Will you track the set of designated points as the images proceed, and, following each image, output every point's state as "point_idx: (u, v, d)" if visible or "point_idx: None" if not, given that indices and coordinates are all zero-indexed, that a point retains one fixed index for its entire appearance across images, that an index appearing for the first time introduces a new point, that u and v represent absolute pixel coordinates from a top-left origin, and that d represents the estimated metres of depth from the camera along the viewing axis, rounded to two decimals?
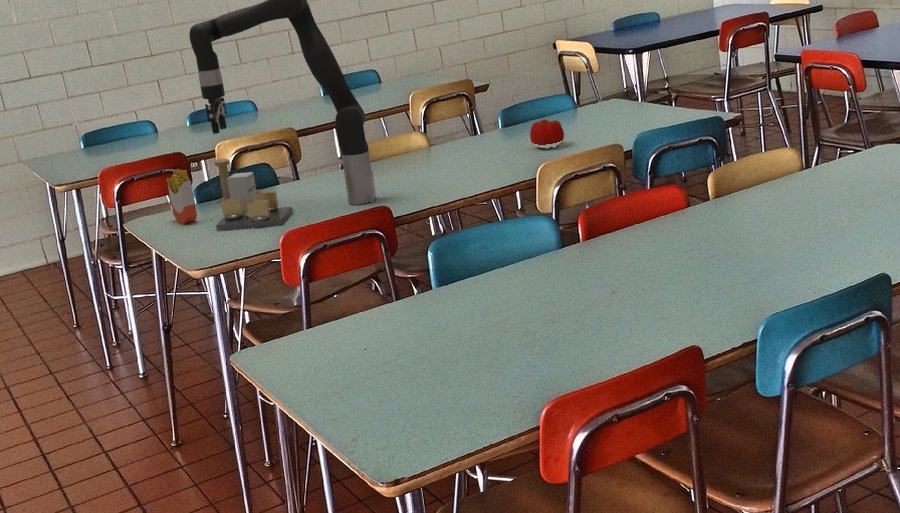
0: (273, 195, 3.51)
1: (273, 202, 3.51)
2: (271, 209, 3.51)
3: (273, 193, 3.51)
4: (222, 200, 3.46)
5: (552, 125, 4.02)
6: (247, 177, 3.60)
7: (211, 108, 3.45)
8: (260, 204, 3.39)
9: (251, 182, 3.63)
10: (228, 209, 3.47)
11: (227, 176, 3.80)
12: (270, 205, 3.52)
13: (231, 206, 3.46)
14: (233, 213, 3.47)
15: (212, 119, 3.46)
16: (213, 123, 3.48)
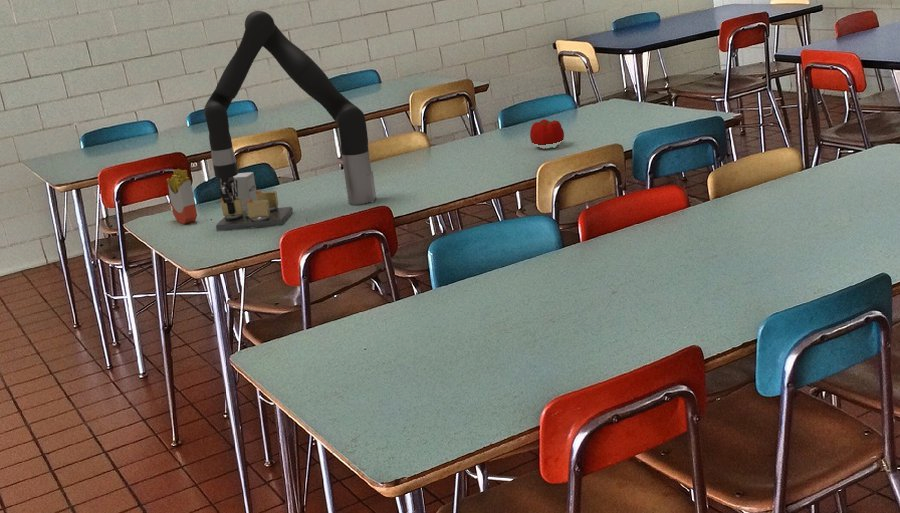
0: (273, 195, 3.51)
1: (273, 202, 3.51)
2: (271, 209, 3.51)
3: (273, 193, 3.51)
4: (222, 200, 3.46)
5: (552, 125, 4.02)
6: (247, 177, 3.60)
7: (226, 193, 3.40)
8: (260, 204, 3.39)
9: (251, 182, 3.63)
10: None
11: None
12: (270, 205, 3.52)
13: None
14: None
15: (228, 200, 3.43)
16: (229, 204, 3.45)
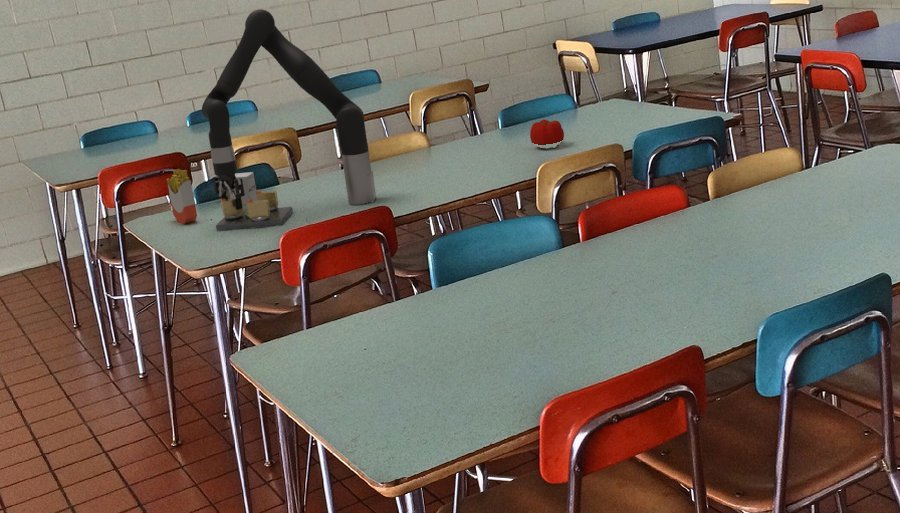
0: (273, 195, 3.51)
1: (273, 202, 3.51)
2: (271, 209, 3.51)
3: (273, 193, 3.51)
4: (224, 201, 3.45)
5: (552, 125, 4.02)
6: (247, 177, 3.60)
7: (241, 183, 3.41)
8: (260, 204, 3.39)
9: (251, 182, 3.63)
10: (230, 209, 3.46)
11: None
12: (270, 205, 3.52)
13: (233, 206, 3.47)
14: (235, 213, 3.47)
15: (242, 194, 3.42)
16: (239, 199, 3.43)
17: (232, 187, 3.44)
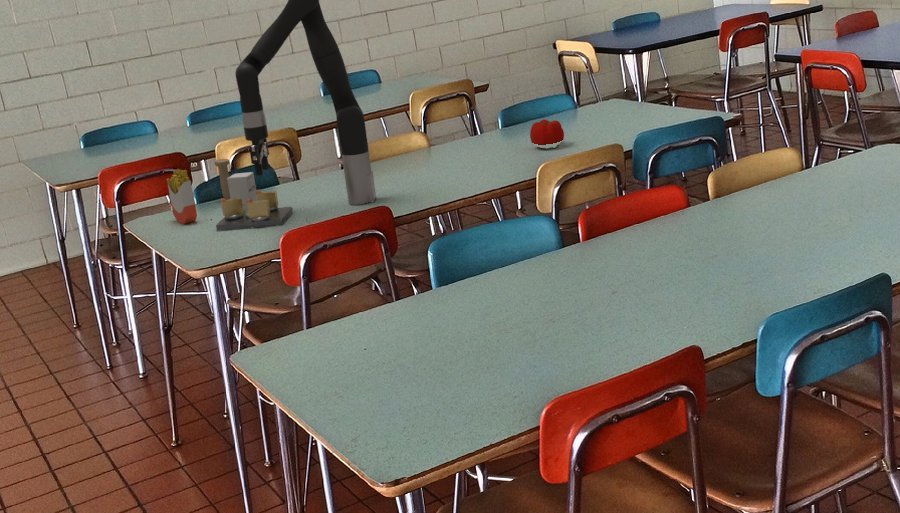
0: (273, 195, 3.51)
1: (273, 202, 3.51)
2: (271, 209, 3.51)
3: (273, 193, 3.51)
4: (224, 201, 3.45)
5: (552, 125, 4.02)
6: (247, 177, 3.60)
7: (255, 150, 3.41)
8: (260, 204, 3.39)
9: (251, 182, 3.63)
10: (230, 209, 3.46)
11: (227, 176, 3.80)
12: (270, 205, 3.52)
13: (233, 205, 3.47)
14: (235, 213, 3.48)
15: (256, 161, 3.42)
16: (257, 165, 3.44)
17: None
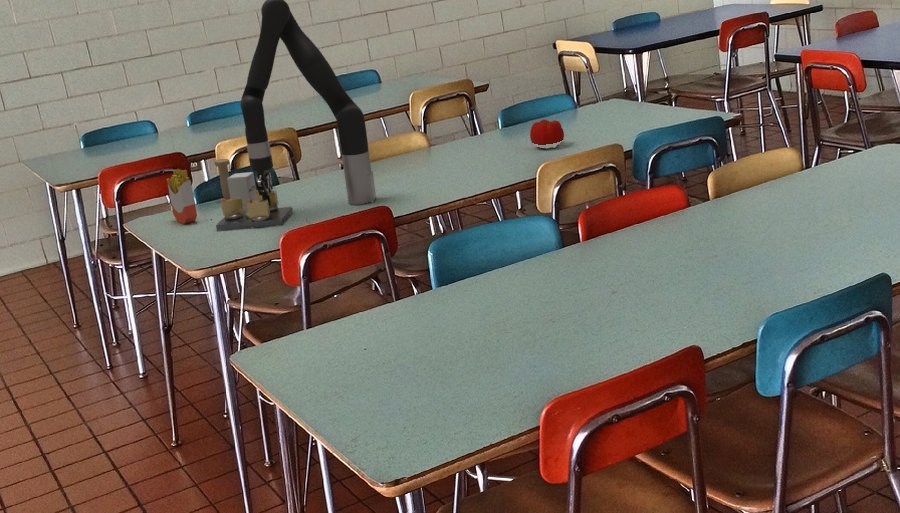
0: (273, 195, 3.51)
1: (273, 202, 3.51)
2: (271, 209, 3.51)
3: (273, 193, 3.51)
4: (224, 201, 3.45)
5: (552, 125, 4.02)
6: (247, 177, 3.60)
7: (262, 185, 3.45)
8: (260, 204, 3.39)
9: (251, 182, 3.63)
10: (230, 209, 3.46)
11: (227, 176, 3.80)
12: (270, 205, 3.52)
13: (233, 205, 3.47)
14: (235, 213, 3.48)
15: (264, 193, 3.47)
16: (264, 196, 3.50)
17: None
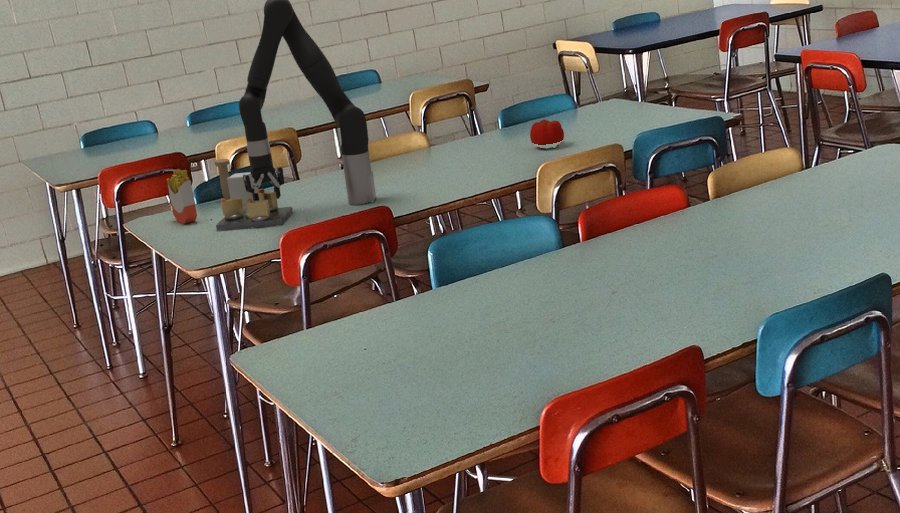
0: (269, 196, 3.50)
1: (270, 203, 3.51)
2: None
3: (269, 194, 3.49)
4: (224, 201, 3.45)
5: (552, 125, 4.02)
6: None
7: (245, 180, 3.46)
8: (260, 204, 3.39)
9: (251, 182, 3.63)
10: (230, 209, 3.46)
11: (227, 176, 3.80)
12: None
13: (233, 205, 3.47)
14: (235, 213, 3.48)
15: (248, 190, 3.47)
16: (252, 193, 3.49)
17: (256, 181, 3.49)
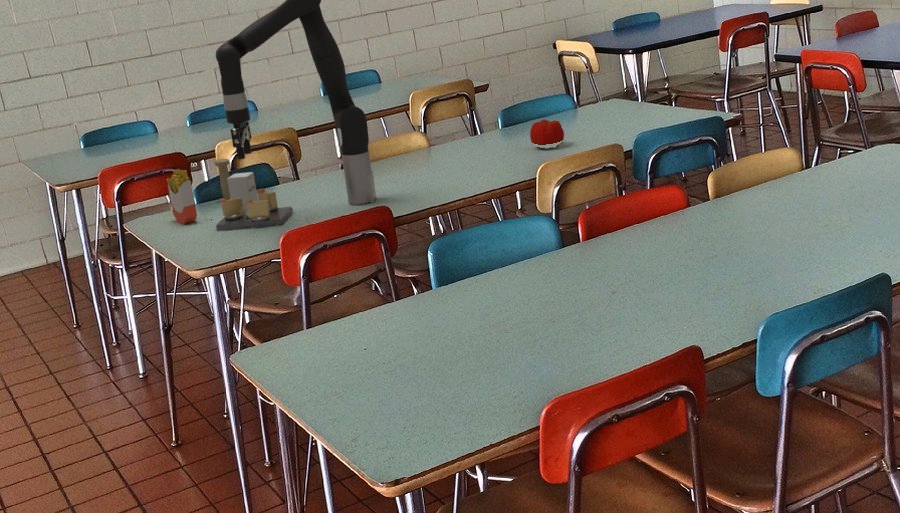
0: (269, 196, 3.50)
1: (269, 203, 3.51)
2: None
3: (269, 194, 3.49)
4: (224, 201, 3.45)
5: (552, 125, 4.02)
6: (247, 177, 3.60)
7: (236, 133, 3.33)
8: (260, 204, 3.39)
9: (251, 182, 3.63)
10: (230, 209, 3.46)
11: (227, 176, 3.80)
12: None
13: (233, 205, 3.47)
14: (235, 213, 3.48)
15: (237, 144, 3.34)
16: (238, 148, 3.36)
17: None
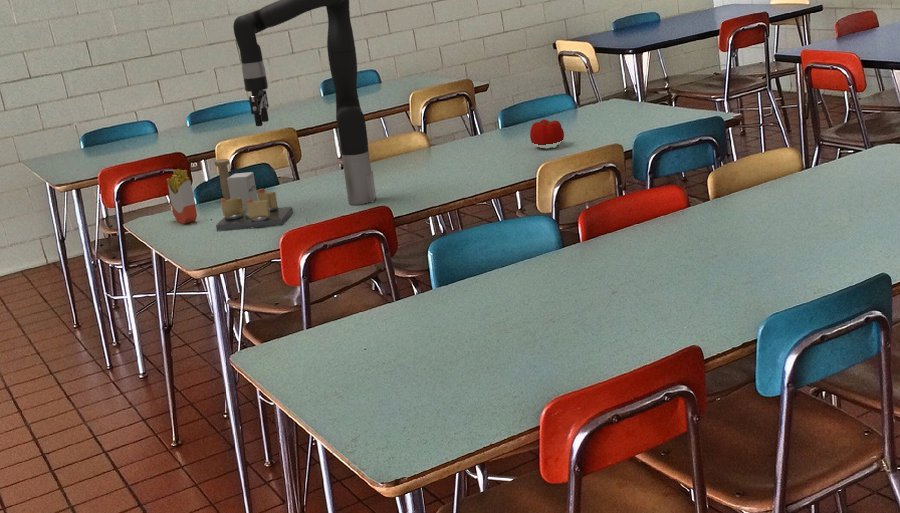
0: (269, 196, 3.50)
1: (269, 203, 3.51)
2: None
3: (269, 194, 3.49)
4: (224, 201, 3.45)
5: (552, 125, 4.02)
6: (247, 177, 3.60)
7: (255, 100, 3.44)
8: (260, 204, 3.39)
9: (251, 182, 3.63)
10: (230, 209, 3.46)
11: (227, 176, 3.80)
12: None
13: (233, 205, 3.47)
14: (235, 213, 3.48)
15: (256, 111, 3.45)
16: (256, 115, 3.47)
17: None
